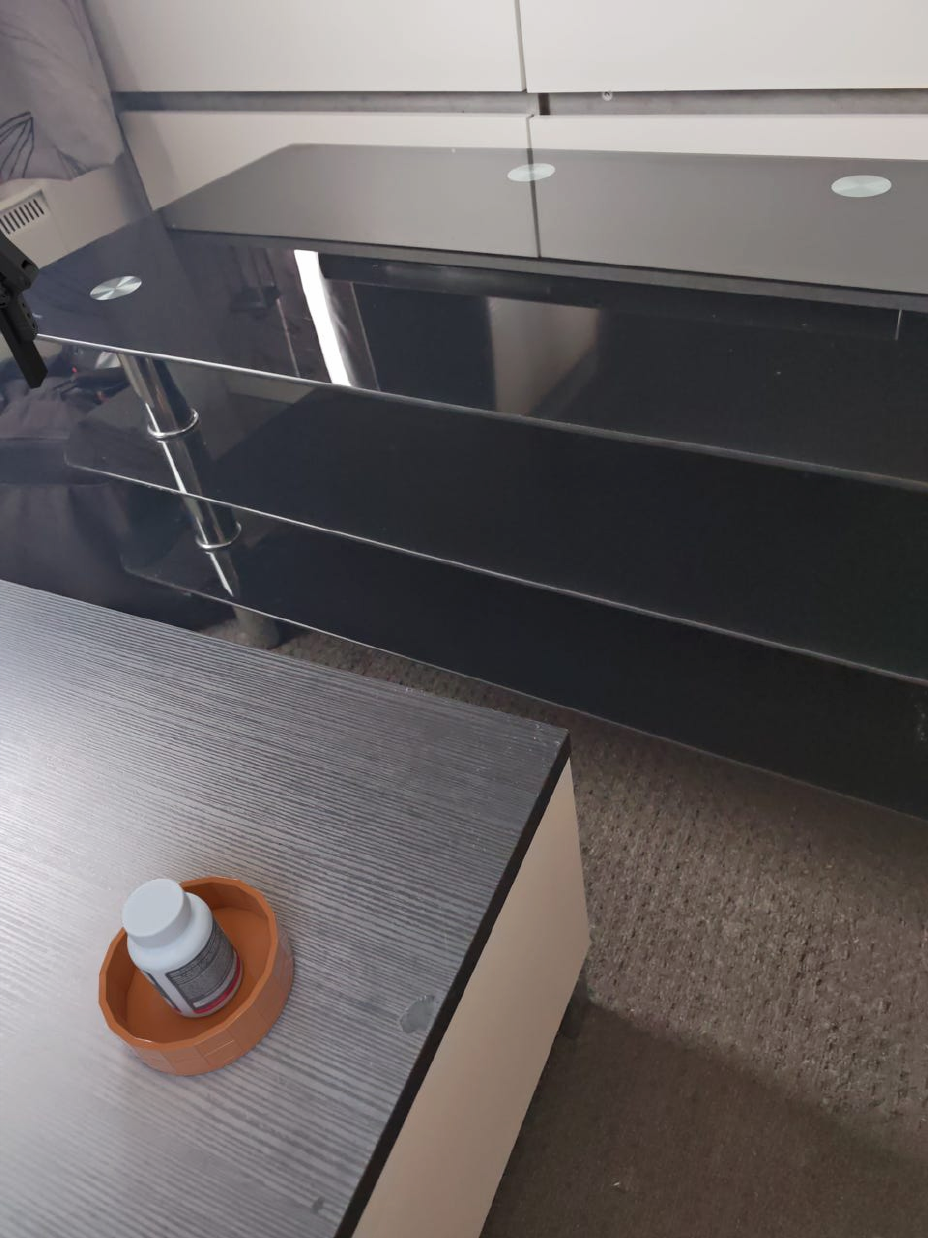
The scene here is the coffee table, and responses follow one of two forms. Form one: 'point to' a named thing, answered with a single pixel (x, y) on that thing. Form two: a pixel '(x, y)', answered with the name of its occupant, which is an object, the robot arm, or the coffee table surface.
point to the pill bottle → (181, 948)
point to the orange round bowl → (229, 1029)
